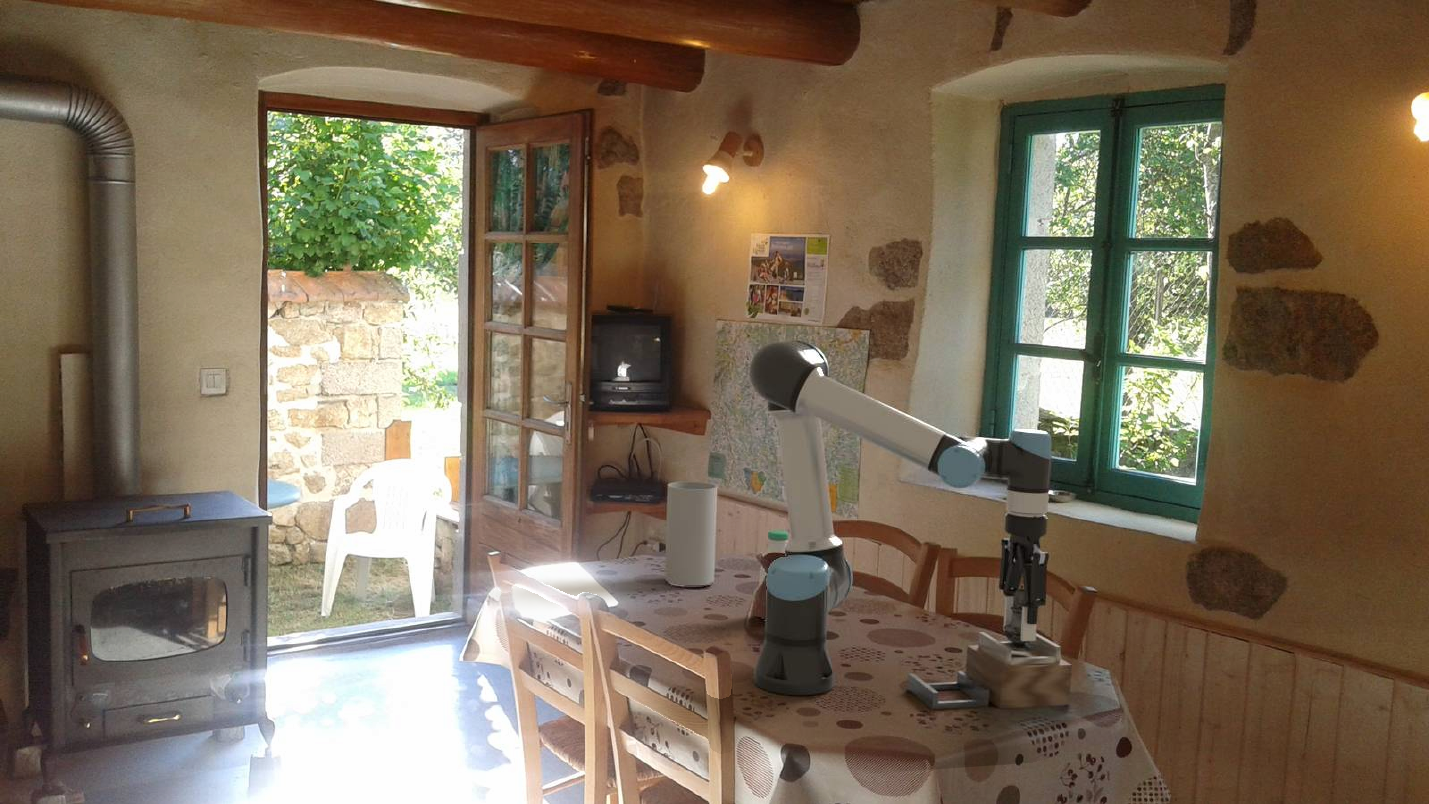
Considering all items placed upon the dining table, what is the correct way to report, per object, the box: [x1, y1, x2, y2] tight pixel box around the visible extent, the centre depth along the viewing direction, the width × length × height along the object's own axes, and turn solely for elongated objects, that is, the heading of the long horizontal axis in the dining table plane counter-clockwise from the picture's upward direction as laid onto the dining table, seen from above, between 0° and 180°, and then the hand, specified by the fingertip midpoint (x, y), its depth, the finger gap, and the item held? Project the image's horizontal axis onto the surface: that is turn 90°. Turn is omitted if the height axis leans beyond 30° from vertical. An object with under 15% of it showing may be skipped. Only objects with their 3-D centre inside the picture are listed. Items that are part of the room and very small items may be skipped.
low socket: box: [907, 670, 990, 710], centre depth 221 cm, size 11×11×3 cm
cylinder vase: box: [664, 481, 718, 585], centre depth 302 cm, size 12×12×25 cm
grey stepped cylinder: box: [1002, 584, 1033, 652], centre depth 223 cm, size 6×6×12 cm
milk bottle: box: [758, 529, 789, 587], centre depth 271 cm, size 8×8×20 cm
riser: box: [965, 631, 1073, 709], centre depth 224 cm, size 14×14×10 cm
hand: (1019, 635), depth 223 cm, fingers closed on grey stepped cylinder, 6 cm apart
